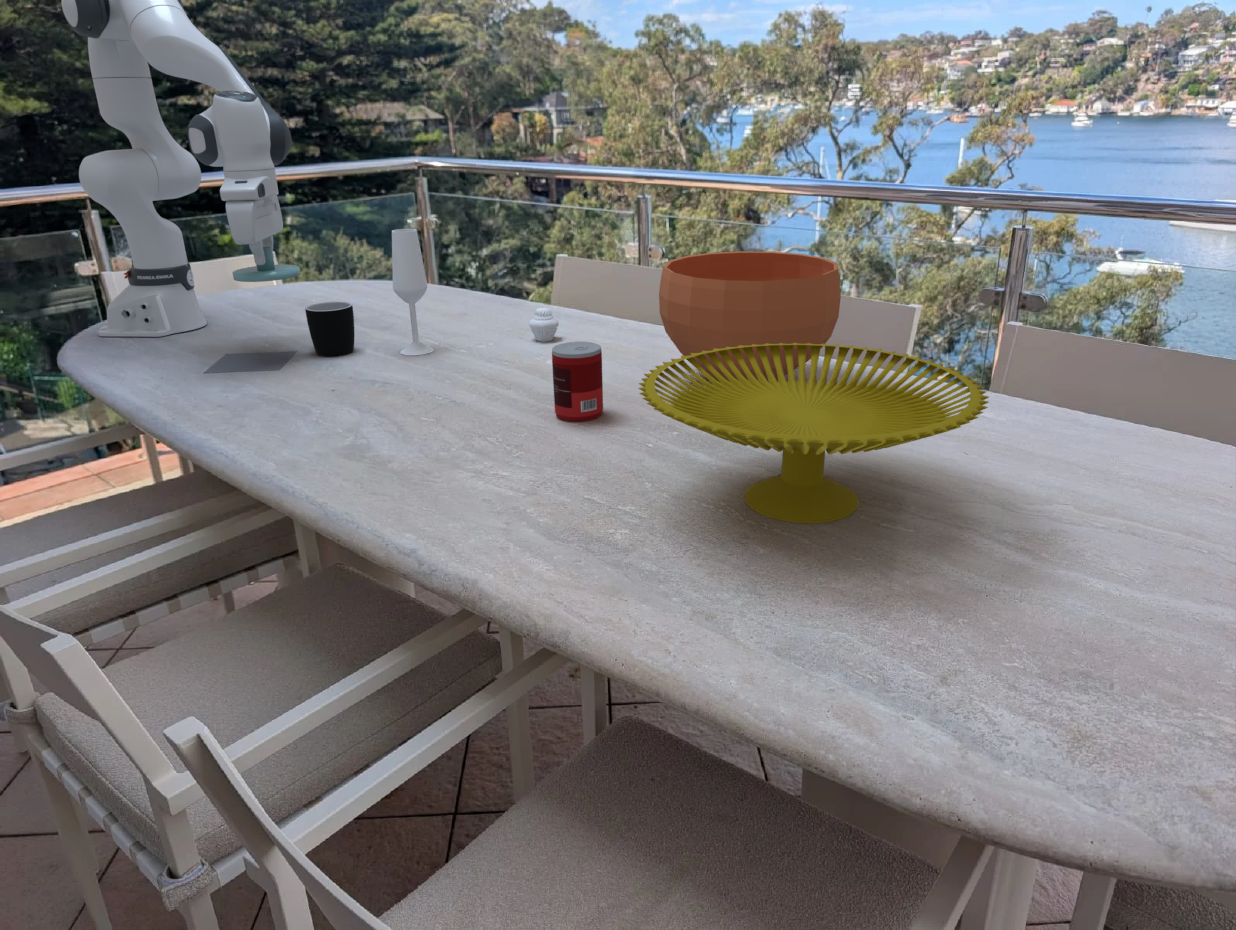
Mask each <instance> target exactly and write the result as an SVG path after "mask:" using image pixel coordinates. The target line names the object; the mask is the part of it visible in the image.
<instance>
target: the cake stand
mask: <svg viewBox="0 0 1236 930" xmlns="http://www.w3.org/2000/svg"><path fill="white" fill-rule="evenodd" d="M779 345H782V346H783V348H784V352H785V356H786V362H787V369H788V375H787V379H786V376H784V373H783V369H782V365H781V359H780V353H779ZM793 345H797V350H798V359H799V367H798V379H796V374H795V370H794V366H793ZM807 345H811V359H810V368H809V369H810V370H809V376H808V380H807V378H806V363H805V360H806V349H807ZM754 346H755V347H756V349H757V351H758V353H759V355H760V357H761V360H762V362H763V365H764V368H765V371H766V374H767V377H768V381H767V380H766V378H765V377H764V375H763V374H762V372H761V370H760V368H759V366H758V364H757V361H756V358H755V356H754V353H753V350H752V347H754ZM765 346H769V348H770V350H771V353H772V356H773V359H774V363H775V367H776V371H777V376H778V382H777V380H776V378H775V376H774V374H773V372H772V370H771V367H770V364H769V361H768V357H767V353H766V347H765ZM821 346H823V347H824V357H823V363H822V367H821V368H822V369H821V372H820V376H819V379H818V382H817V372H818V363H819V356H820V353H821V349H822V348H821ZM739 348H742V349H743V350H744V352H745V353H746V355H747V357H748V359H749V361H750V363H751V365H752V367H753V369H754V371H755V373H756V376H757V378H758V380H757V379H756V378H755V377H754V376H753V375H752V373H751V372H750V370H749V368H748V367H747V365H746V363H745V361H744V359H743V357H742V355H741V353H740V350H739ZM836 348H838V353H837V358H836V361H835V365H834V368H833V372H832V373H831V377H830V379H829V380H828V375H829V374H828V373H829V369H830V364H831V361H832V357H833V355H834V353H835V352H834V351H835V349H836ZM727 349H730V351H731V352H732V353H733V355H734V356H735V358H736V359H737V361H738V362H739V364H740V366H741V367H742V369H743V371H744V372H745V374H746V376H747V378H748V380H749V381H748V380H747V379H746V378H745V377H744V376H743V375H742V374H741V373H740V371H739V370H738V369H737V367H736V366H735V364H734V363H733V361H732V360H731V358H730V356H729V354H728V352H727ZM850 349H852V352H851V355H850V359H849V361H848V364H847V366H846V369H845V370H844V373H843V375H842V377H841V378H840V380H839V381H838V378H839V375H840V371H841V370H842V366H843V364H844V362H845V358H846V357H847V355H848V353H849V350H850ZM716 351H717V352H718V353H719V354H720V355H721V356H722V357H723V359H724V360H725V361H726V363H727V364H728V365H729V367H730V368H731V370H732V371H733V372H734V374H735V375H736V377H737V379H738V380H739V381H738V380H737V379H735V378H734V377H733V376H732V375H731V374H730V373H729V371H728V370H727V369H726V368H725V367H724V365H723V364H722V363H721V361H720V360H719V358H718V357H717V355H716V354H715V352H716ZM863 351H866V353H865V356H864V358H863V360H862V361H861V363H860V365H859V367H858V368H857V371H856V373H855V374H854V376H853V377H852V379H850V376H851V374H852V371H853V370H854V368H855V365H856V364H857V362H858V361H859V358H860V357H861V356H862V353H863ZM878 352H879V356H878V358H877V360H876V361H875V363H873V366H872V367H871V368H870V370H869V372H868V373H867V375H866V376H865V377H864V378H863V379H862V380H861V381H860V379H861V377H862V376H863V374H864V373H865V370H866V369H867V367H868V366H869V364H870V363H871V361H872V360H873V359H874V357H875V356H876V354H877V353H878ZM705 353H706V354H707V355H708V356H709V357H710V358H711V359H712V360H713V361H714V362H715V364H716V365H717V366H718V367H719V368H720V370H721V371H722V372H723V373H724V375H725V376H726V377H727V378H728V380H729V381H730V382H729V381H727V380H726V379H725V378H724V377H723V376H722V375H720V374H719V373H718V372H717V371H716V370H715V369H714V367H713V366H712V365H711V364H710V363H709V361H708V360H707V359H706V357H705V356H704V354H705ZM891 355H892V358H891V359H890V361H889V362H888V364H887V365H885V367H884V368H883V370H882V371H881V372H880V374H879V375H878V376H877V377H876V378H875V379H874V380H872V378H873V377H874V376H875V374H876V373H877V371H878V370H879V369H880V367H881V366H882V365H883V364H884V363H885V361H886V360H887V359H888V358H889V357H890V356H891ZM694 356H696V357H697V358H698V359H699V360H700V361H701V362H702V363H703V364H704V365H705V366H706V367H707V368H708V369H709V370H710V371H711V372H712V373H713V375H714V376H715V377H716V378H717V379H718V380H719V381H720V382H721V383H720V382H718V381H717V380H716V379H714V378H713V377H712V376H711V375H709V374H708V373H707V372H706V371H705V370H704V369H703V368H702V367H701V366H700V365H699V364H698V363H697V361H696V360H695V359H694V358H693V357H694ZM903 358H905V360H904V361H903V362H902V363H901V364H900V366H899V367H898V368H897V369H896V370H895V371H894V373H892V375H890V377H889V378H887V379H886V380H885V381H884V382H882V381H883V379H884V378H885V377H886V376H887V375H888V374H889V373H890V372H891V370H892V369H893V368H894V367H895V366H896V365H897V364H898V363H899V362H900V361H901V360H902V359H903ZM921 358H922V357H921V356H918V357H917V356H916V357H915V356H910V355H909V354H908V353H903V354H902V353H896V352H895V351H885V350H882V348H880V349H879V348H877V349H871V348H868V347H867V346H866V347H858V346H857V347H856V346H854V345H848V346H847V345H840V344H826V343H825V344H824V343H823V344H810V343H808V344H799V343H792V344H783V343H779V344H768V343H766V344H764V345H755V344H752V345H750V346H742V345H739V346H738V347H726V348H722V349H717V348H713V350H712V351H702V352H701V353H691V355H689V356H683V355H680V358H670V360H671V361H665V362H662V364H663V365H655V368H656V369H649V372H650V373H644V374H643V375H644V376H645V378H641V381H643V382H638V385H640V386H641V387H638V390H641V392H639V393H638V394H639V395H641V396H643V397H642V398H641V399H643V400H644V401H647V402H646V404H647V405H649V406H651V407H653V408H652V409H654V410H655V411H658V412H660V414H661V415H663V416H666V417H669V418H671V419H672V420H674V421H678V422H680V423H682V424H683V425H684V424H685V425H686V426H689V427H691V428H694V429H696V430H699V431H701V432H704V433H706V434H710V435H711V436H714V437H717V438H719V439H722V440H724V441H728V442H732V443H733V444H739V445H741V446H744V447H747V446H749V447H752V448H754V449H758V448H761V449H763V450H765V451H770V450H771V449H773V450H774V451H776V452H778V453H781V452H782V453H781V454H782V455H781V456H782V459H781V474H778V475H774V476H772V477H771V476H770V477H769V478H764V479H762V480H758V481H757V482H755V483H753V484H751V485H750V486H749V487H748V488H747V489H746V490H745V494H744V501H745V503H746V504H747V505H748V507H749V508H751V509H752V510H753V511H754V512H756V513H758V514H761V515H762V516H765V517H767V518H769V519H775V520H777V521H783V522H788V523H797V524H818V523H819V524H823V523H829V522H834V521H838V520H841V519H845V518H847V517H848V516H849V517H850V515H853V513H855V512H856V511H857V509H858V508H859V497H858V496H857V494H856V493H855V492H854V491H853V490H852V489H851V488H848V487H847V486H846V485H843V484H841V483H839V482H836V481H834V480H833V479H830V478H827V477H825V476H824V474H825V473H824V472H825V459H826V458H825V457H826V452H827V455H833V454H836V453H839V454H841V455H844V454H848V453H850V452H851V453H853V454H857V453H861V452H864V453H866V452H871V451H879V450H883V449H888V448H892V447H896V446H899V445H903V444H906V443H908V444H909V443H912V442H915V441H919V440H922V439H926V438H929V437H933V436H936V435H939V434H943V433H948V432H950V431H952V430H956V429H959V428H962V426H963V425H967V424H970V423H971V422H972V421H973V420H977V419H978V418H979V416H978V415H981V414H984V413H985V412H984V411H983V410H985V409H988V408H989V407H988V406H985V405H987V404H988V403H990V401H987V399H989V398H990V396H987V395H984V394H986V393H987V391H986V390H981V389H983V388H984V385H983V386H982V385H977V383H978V381H977V380H976V381H975V380H971V379H972V376H968V375H963V374H964V372H963V371H954V370H955V368H954V367H945V366H944V364H943V363H934V360H929V359H928V360H927V359H921ZM685 360H686V361H688V362H689V363H690V364H691V365H692V366H693V367H694V368H695V369H696V370H698V371H699V372H700V373H701V374H702V375H703V376H704V377H705V378H706V379H705V378H704V377H702V376H701V375H700V374H698V373H697V372H696V371H695V370H694V369H693V368H692V367H690V365H689V364H688V363H687V362H685ZM915 361H917V362H916V363H915V364H914V365H913V366H912V368H911V369H909V371H907V372H906V373H905V375H904V376H902V378H900V379H898V380H897V381H896V382H895V380H896V379H897V378H898V377H899V376H900V375H901V374H902V373H903V372H904V371H905V370H906V369H907V368H908V367H910V366H911V365H912V364H913V363H914V362H915ZM678 365H679V366H681V367H682V368H683V369H685V371H687V372H688V373H689V374H691V376H693V377H694V378H695V379H696V380H695V379H694V378H692V377H691V376H690V375H688V374H687V373H686V372H685V371H684V370H683V369H681V368H680V367H679V366H678ZM926 365H928V366H927V367H926V368H925V369H924V370H923V371H921V373H920V374H919V373H918V375H917V376H916V377H915V378H914V379H912V380H911V381H909V382H908V383H906V384H905V385H903V384H904V383H905V382H906V381H908V380H909V379H910V378H912V376H913V375H914V374H916V373H917V372H918V371H919V370H921V369H922V368H923V367H924V366H926ZM670 368H671V369H673V370H674V371H676V372H677V373H678V374H680V376H682V377H684V379H686V380H687V381H685V380H684V379H683V378H681V377H680V376H679V375H678V374H676V373H675V372H673V371H672V370H671V369H670ZM938 368H939V369H938ZM936 369H938V370H936ZM934 370H936V371H935V373H933V374H931V376H929V377H928V378H926V379H925V380H924V381H923V382H921V383H920V384H917V383H919V381H921V380H922V379H923V378H925V377H926V376H928V375H929V374H930V373H932V372H933V371H934ZM665 373H666V374H665ZM945 373H947V374H946V375H945V376H944V377H942V378H941V379H939V380H938V381H936V382H935V383H934V384H932V385H930V386H929V387H927V388H925V389H923V388H924V387H926V385H928V384H930V383H931V382H933V381H935V380H936V379H937V378H940V377H941V376H942V375H944V374H945ZM667 374H668V375H669V376H671V377H672V378H673V379H675V380H676V381H678V382H679V383H680V384H679V383H677V382H676V381H675V380H673V379H672V378H670V377H669V376H668V375H667ZM659 376H660V377H661V378H662V379H661V378H660V377H659ZM954 377H956V378H954ZM952 378H954V379H953V380H951V379H952ZM663 379H665V380H666V381H667V382H669V383H670V384H672V385H674V386H676V387H674V386H672V385H670V384H669V383H667V382H666V381H664V380H663ZM849 379H850V381H849ZM707 380H708V381H707ZM827 380H828V381H827ZM871 380H872V381H871ZM949 380H951V381H949ZM688 381H689V382H690V383H689V382H688ZM848 381H849V382H848ZM859 381H860V382H859ZM870 381H871V382H870ZM947 381H949V382H948V383H946V384H945V385H943V386H941V385H942V384H943V383H945V382H947ZM837 382H838V383H837ZM881 382H882V383H881ZM893 382H894V383H893ZM961 382H962V383H961ZM880 383H881V384H880ZM892 383H893V384H892ZM959 383H961V384H959ZM660 384H662V385H663V386H662V385H660ZM681 384H682V385H681ZM891 384H892V385H891ZM915 384H917V385H916V386H914V385H915ZM957 384H959V385H958V386H956V387H954V388H953V389H950V388H951V387H953V386H955V385H957ZM902 385H903V386H902ZM664 386H665V387H664ZM913 386H914V387H913ZM939 386H941V387H940V388H938V389H936V390H935V391H933V390H934V389H935V388H937V387H939ZM911 387H913V388H911ZM657 388H659V389H660V390H659V389H657ZM964 388H965V389H964ZM921 389H923V390H921ZM947 389H950V390H948V391H947V392H945V393H943V394H941V395H938V394H940V393H942V392H944V391H946V390H947ZM961 389H963V390H961ZM920 390H921V391H920ZM960 390H961V391H960ZM663 391H664V392H663ZM931 391H932V392H931ZM958 391H960V392H958ZM665 392H666V393H665ZM929 392H930V393H929ZM956 392H958V393H956ZM954 393H956V394H954ZM969 393H970V394H969ZM952 394H954V395H952ZM965 394H968V395H965ZM937 395H938V396H937ZM949 395H952V396H950V397H947V396H949ZM963 395H965V396H964V397H962V396H963ZM946 397H947V398H946ZM959 397H961V398H959ZM943 398H944V399H943ZM957 398H959V399H957ZM955 399H956V400H955ZM968 399H969V400H968ZM952 400H954V401H952ZM966 400H967V401H966ZM950 401H952V402H950ZM964 401H965V402H964ZM948 402H950V403H948ZM961 402H962V403H961ZM954 405H955V406H954ZM964 406H965V407H964ZM962 407H963V408H962ZM959 408H960V409H959Z"/></svg>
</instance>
